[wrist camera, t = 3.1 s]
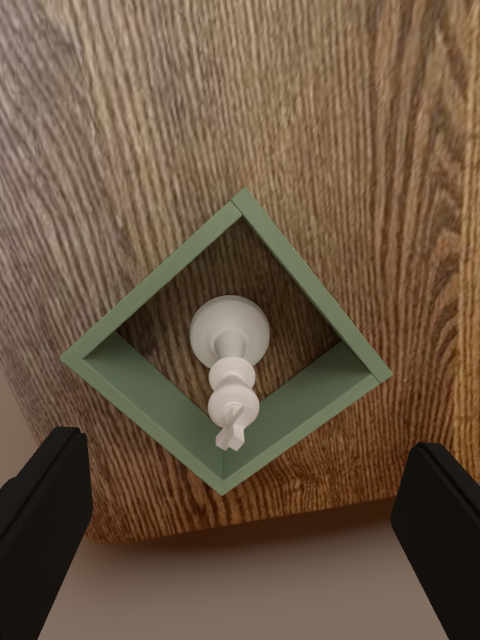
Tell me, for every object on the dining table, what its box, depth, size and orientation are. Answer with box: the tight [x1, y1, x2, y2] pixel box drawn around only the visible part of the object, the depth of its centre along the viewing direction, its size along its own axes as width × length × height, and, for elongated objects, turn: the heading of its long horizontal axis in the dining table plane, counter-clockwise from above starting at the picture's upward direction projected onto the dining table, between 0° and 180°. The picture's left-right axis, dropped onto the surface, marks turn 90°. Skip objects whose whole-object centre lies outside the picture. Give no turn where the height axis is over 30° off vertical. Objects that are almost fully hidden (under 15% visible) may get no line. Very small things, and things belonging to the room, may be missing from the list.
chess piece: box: [189, 295, 270, 451], centre depth 16 cm, size 5×5×10 cm
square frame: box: [59, 187, 393, 496], centre depth 18 cm, size 12×12×4 cm
